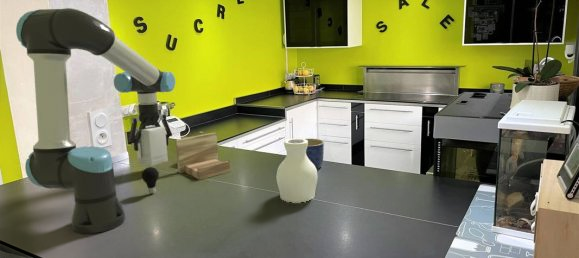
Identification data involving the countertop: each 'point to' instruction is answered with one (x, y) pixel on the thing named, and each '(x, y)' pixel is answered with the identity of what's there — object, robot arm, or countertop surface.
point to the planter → (315, 151)
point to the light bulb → (150, 178)
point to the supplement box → (152, 145)
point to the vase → (296, 173)
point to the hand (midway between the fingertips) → (152, 155)
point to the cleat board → (200, 156)
